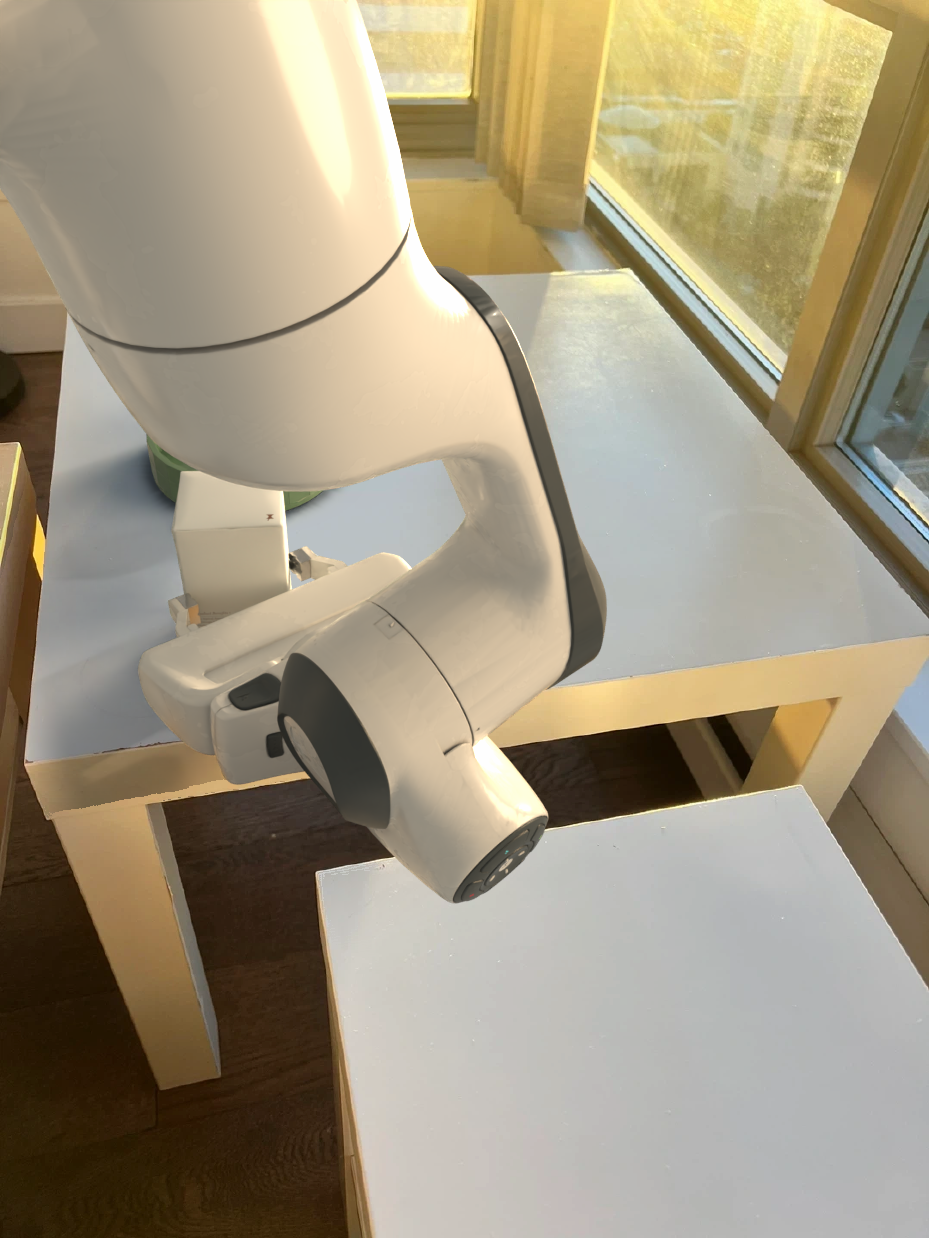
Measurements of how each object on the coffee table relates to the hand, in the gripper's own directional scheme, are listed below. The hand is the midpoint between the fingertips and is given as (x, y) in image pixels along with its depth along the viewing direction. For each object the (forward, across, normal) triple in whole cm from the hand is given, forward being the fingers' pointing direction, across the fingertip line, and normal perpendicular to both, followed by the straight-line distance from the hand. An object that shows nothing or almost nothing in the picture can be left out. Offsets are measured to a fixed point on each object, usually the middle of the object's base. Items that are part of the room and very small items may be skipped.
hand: (238, 579), depth 69 cm
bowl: (+22, -12, +7) cm, 26 cm away
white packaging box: (+1, -1, +7) cm, 7 cm away
